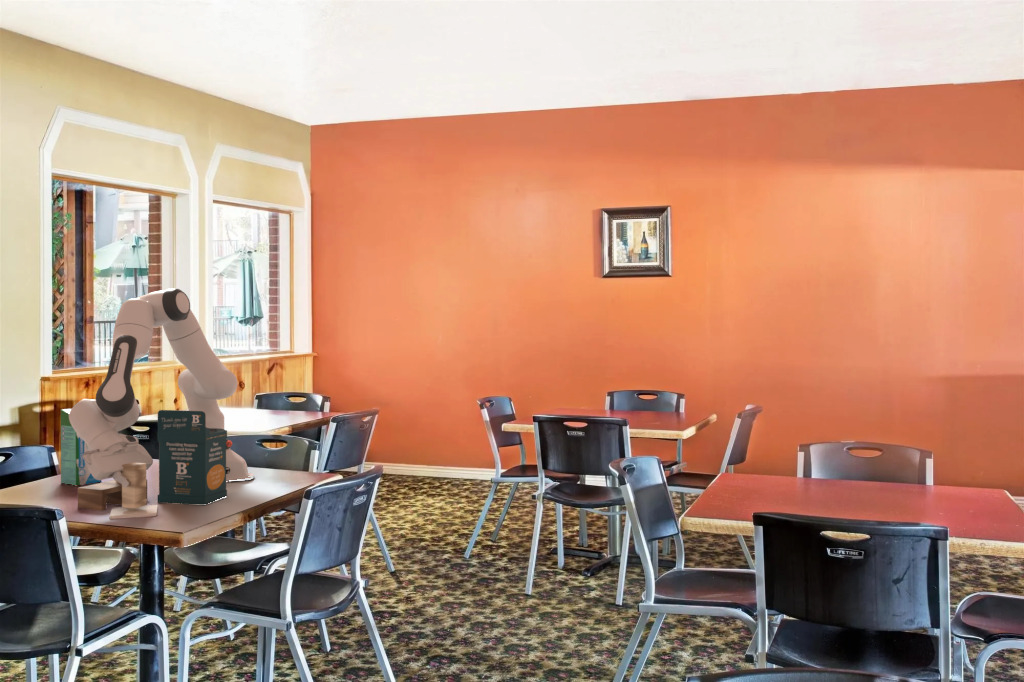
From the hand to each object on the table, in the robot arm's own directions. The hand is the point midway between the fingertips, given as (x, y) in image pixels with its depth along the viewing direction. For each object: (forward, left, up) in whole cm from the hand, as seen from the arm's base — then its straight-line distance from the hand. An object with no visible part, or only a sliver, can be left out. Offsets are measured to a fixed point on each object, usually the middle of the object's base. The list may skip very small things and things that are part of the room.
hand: (136, 483), depth 250 cm
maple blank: (0, 0, -6) cm, 6 cm away
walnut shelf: (+7, -17, -8) cm, 20 cm away
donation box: (-17, -16, -9) cm, 25 cm away
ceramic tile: (0, 0, -8) cm, 8 cm away
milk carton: (+19, -57, -9) cm, 61 cm away
